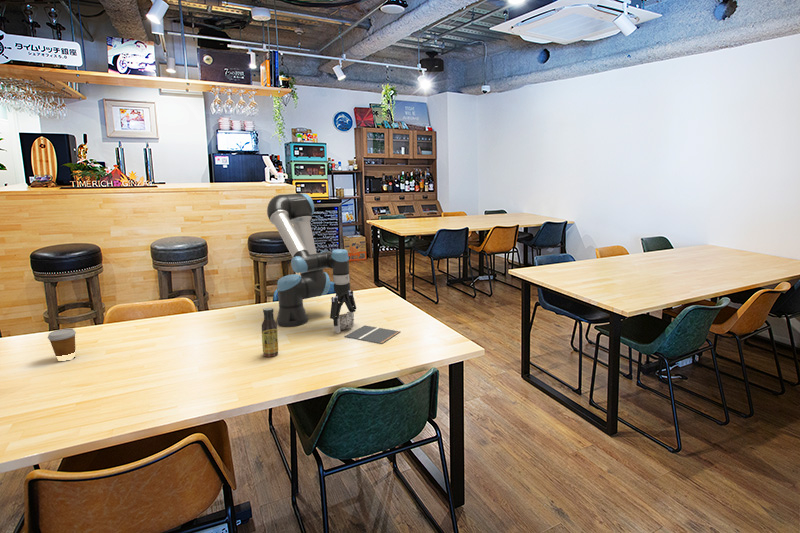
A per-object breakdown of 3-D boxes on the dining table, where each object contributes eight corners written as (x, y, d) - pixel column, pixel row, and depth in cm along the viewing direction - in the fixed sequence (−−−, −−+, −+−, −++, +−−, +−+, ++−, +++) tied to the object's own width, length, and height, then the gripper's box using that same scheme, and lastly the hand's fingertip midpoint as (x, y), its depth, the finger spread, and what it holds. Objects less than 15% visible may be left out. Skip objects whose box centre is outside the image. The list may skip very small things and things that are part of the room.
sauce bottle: (264, 359, 184) (260, 312, 180) (261, 353, 190) (257, 308, 186) (281, 355, 187) (276, 309, 183) (277, 350, 193) (273, 305, 189)
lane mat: (344, 337, 206) (344, 336, 206) (364, 326, 219) (364, 325, 219) (382, 344, 196) (382, 343, 196) (400, 332, 210) (400, 331, 209)
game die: (348, 337, 215) (352, 325, 208) (330, 332, 215) (334, 319, 208) (353, 323, 222) (357, 311, 215) (336, 318, 221) (340, 305, 214)
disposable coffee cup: (85, 355, 194) (80, 329, 192) (63, 364, 185) (57, 336, 183) (69, 353, 197) (64, 327, 195) (47, 362, 188) (41, 334, 186)
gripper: (332, 289, 199) (336, 337, 204) (362, 278, 219) (364, 322, 223) (319, 287, 203) (322, 334, 208) (349, 276, 222) (352, 320, 227)
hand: (344, 328), depth 215 cm, fingers open, 10 cm apart
